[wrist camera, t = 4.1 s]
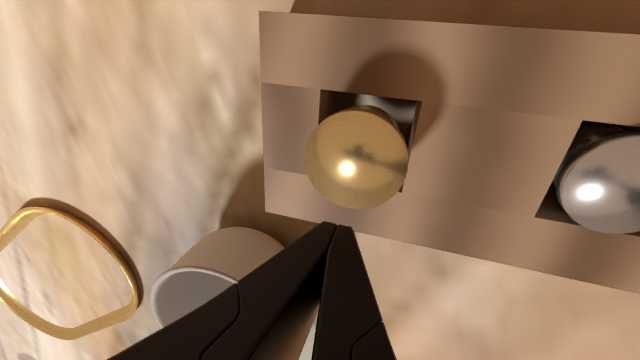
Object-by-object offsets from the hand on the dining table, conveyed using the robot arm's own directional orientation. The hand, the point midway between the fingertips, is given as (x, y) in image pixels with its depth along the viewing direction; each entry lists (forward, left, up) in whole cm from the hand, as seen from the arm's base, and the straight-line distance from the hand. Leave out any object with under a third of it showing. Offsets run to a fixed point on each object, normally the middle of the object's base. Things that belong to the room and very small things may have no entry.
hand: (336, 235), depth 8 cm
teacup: (+8, +16, -13) cm, 22 cm away
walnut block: (-6, 0, -13) cm, 14 cm away
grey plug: (-12, 0, -11) cm, 16 cm away
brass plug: (0, 0, -9) cm, 9 cm away
